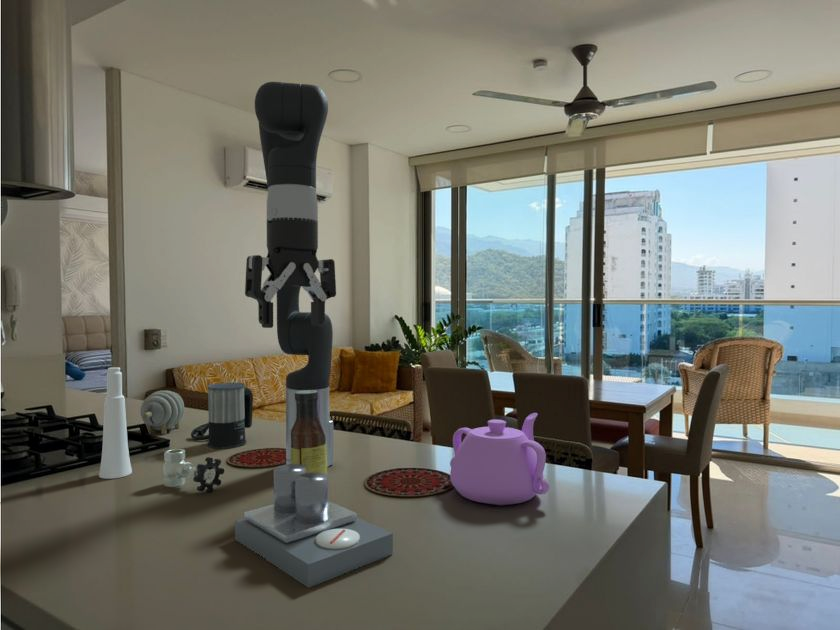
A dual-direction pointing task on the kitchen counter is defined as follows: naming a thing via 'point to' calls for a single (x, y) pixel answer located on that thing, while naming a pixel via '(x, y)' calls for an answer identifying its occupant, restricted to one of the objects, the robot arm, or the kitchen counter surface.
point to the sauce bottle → (308, 434)
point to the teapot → (498, 463)
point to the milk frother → (226, 415)
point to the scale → (319, 549)
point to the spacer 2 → (311, 498)
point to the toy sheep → (162, 411)
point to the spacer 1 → (286, 487)
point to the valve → (190, 471)
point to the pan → (292, 530)
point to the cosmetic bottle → (114, 430)
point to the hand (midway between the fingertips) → (292, 326)
